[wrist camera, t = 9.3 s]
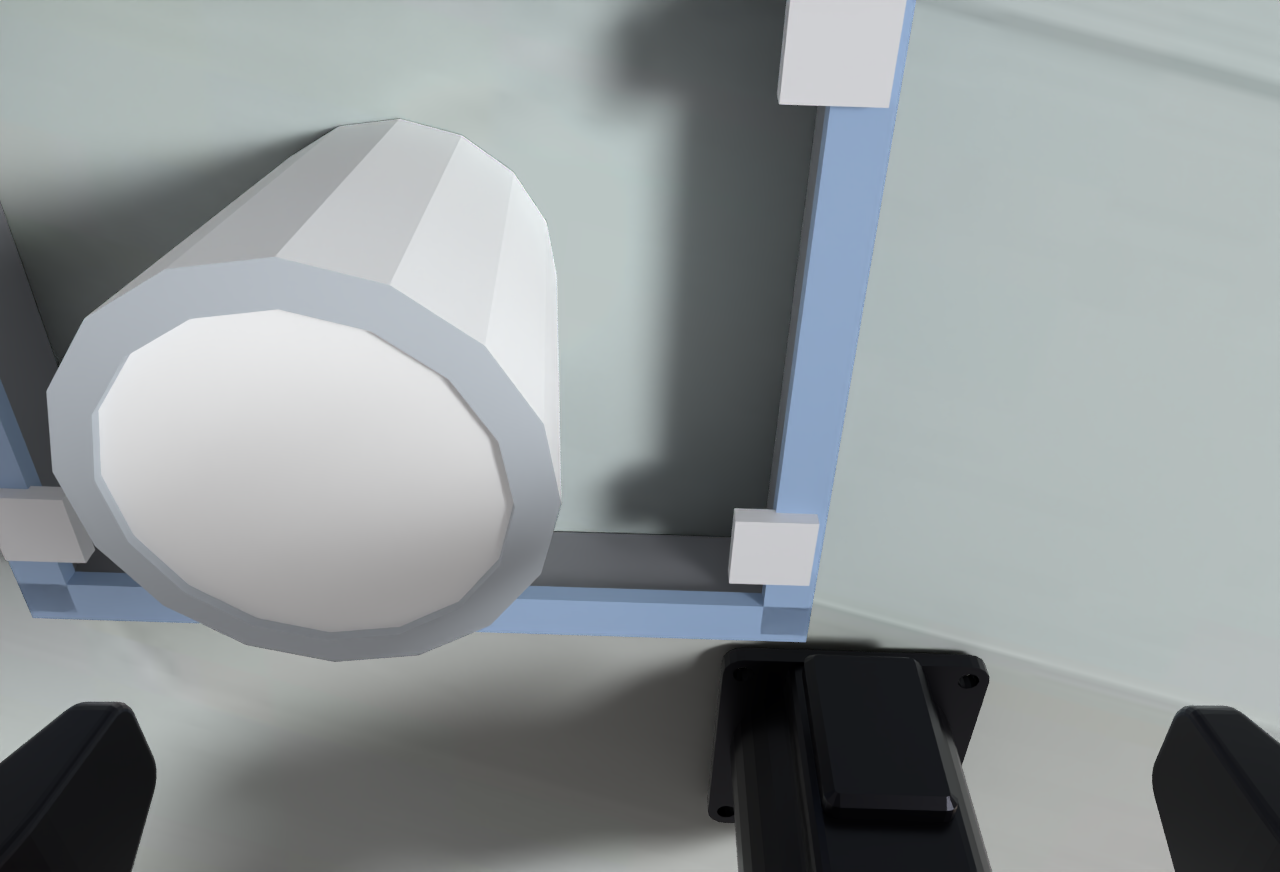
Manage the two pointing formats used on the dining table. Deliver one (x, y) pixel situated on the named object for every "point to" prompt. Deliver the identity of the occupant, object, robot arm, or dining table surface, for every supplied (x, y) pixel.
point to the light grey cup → (330, 403)
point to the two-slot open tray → (578, 562)
